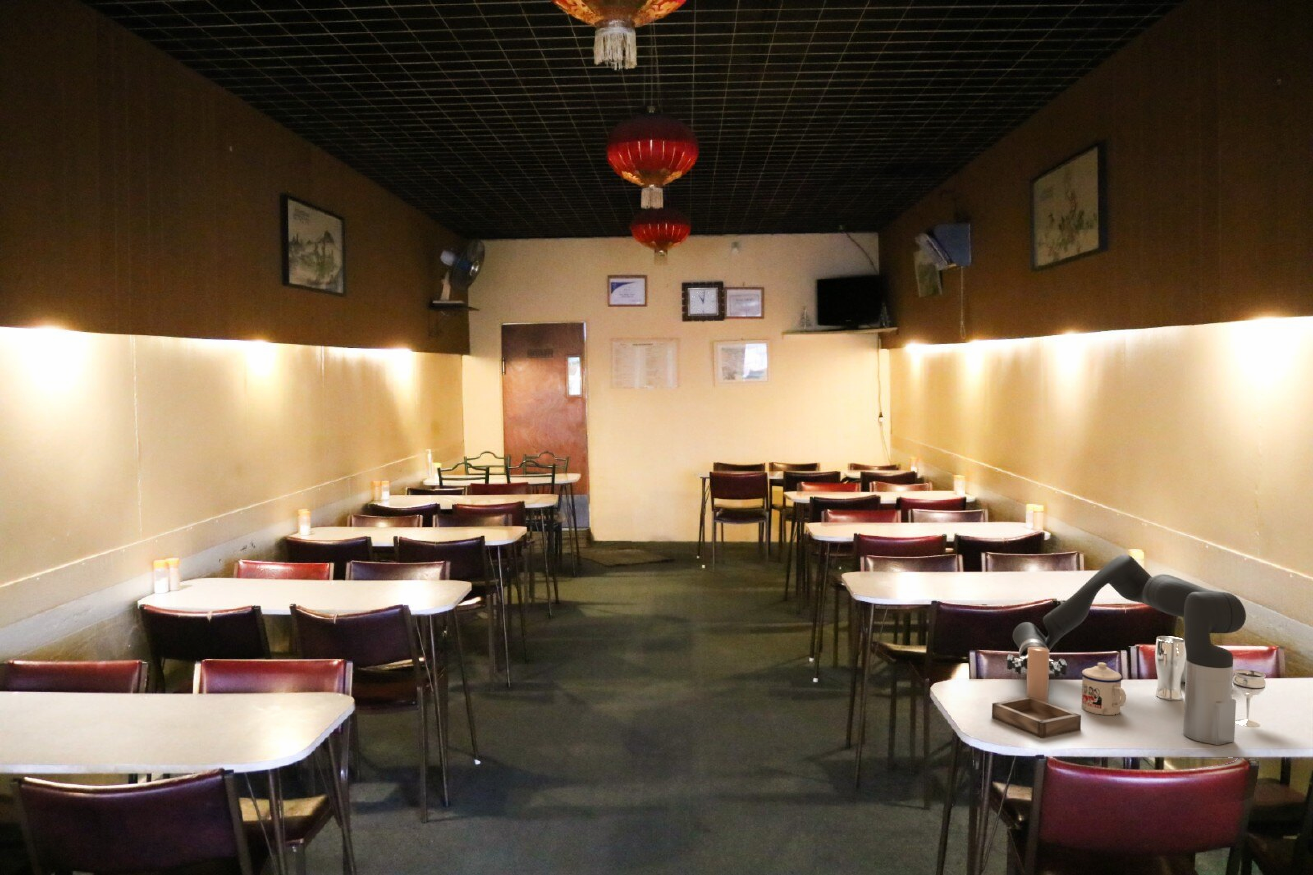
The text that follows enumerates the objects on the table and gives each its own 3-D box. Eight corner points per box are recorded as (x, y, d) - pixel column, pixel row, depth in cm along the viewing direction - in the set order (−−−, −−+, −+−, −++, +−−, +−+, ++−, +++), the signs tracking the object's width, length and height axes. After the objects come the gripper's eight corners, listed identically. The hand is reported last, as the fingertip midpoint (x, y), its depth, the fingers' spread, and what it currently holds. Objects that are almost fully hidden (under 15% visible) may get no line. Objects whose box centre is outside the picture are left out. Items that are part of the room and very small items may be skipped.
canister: (1052, 706, 240) (1053, 650, 239) (1037, 709, 238) (1039, 652, 237) (1036, 700, 244) (1037, 645, 244) (1021, 703, 242) (1023, 648, 241)
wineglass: (1270, 725, 227) (1272, 675, 227) (1254, 730, 224) (1256, 679, 224) (1240, 716, 233) (1242, 667, 233) (1224, 721, 230) (1226, 671, 229)
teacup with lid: (1072, 705, 240) (1073, 659, 240) (1101, 702, 243) (1103, 656, 243) (1108, 721, 229) (1110, 673, 228) (1139, 717, 232) (1140, 670, 231)
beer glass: (1177, 693, 251) (1179, 636, 250) (1189, 701, 244) (1191, 643, 243) (1149, 692, 252) (1151, 635, 251) (1160, 700, 245) (1162, 642, 244)
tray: (1080, 730, 223) (1081, 715, 223) (1042, 738, 218) (1042, 723, 217) (1029, 710, 236) (1029, 696, 236) (991, 717, 231) (992, 703, 231)
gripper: (1006, 639, 259) (1008, 654, 243) (1063, 644, 254) (1069, 660, 239) (1005, 666, 259) (1007, 684, 244) (1063, 672, 255) (1068, 690, 239)
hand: (1037, 672), depth 241 cm, fingers open, 8 cm apart
